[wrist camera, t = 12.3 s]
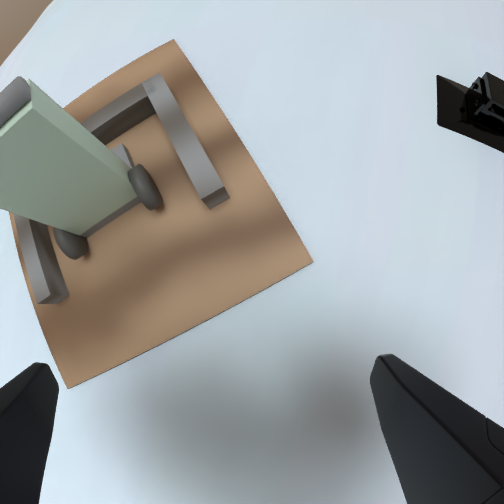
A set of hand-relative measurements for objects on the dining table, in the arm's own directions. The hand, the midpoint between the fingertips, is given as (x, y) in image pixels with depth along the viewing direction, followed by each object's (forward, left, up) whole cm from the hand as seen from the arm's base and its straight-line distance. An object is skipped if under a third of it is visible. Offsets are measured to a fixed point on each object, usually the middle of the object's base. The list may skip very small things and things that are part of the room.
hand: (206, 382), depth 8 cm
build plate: (+13, -22, -13) cm, 28 cm away
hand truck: (+10, +8, -12) cm, 17 cm away
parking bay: (+10, +8, -12) cm, 18 cm away
